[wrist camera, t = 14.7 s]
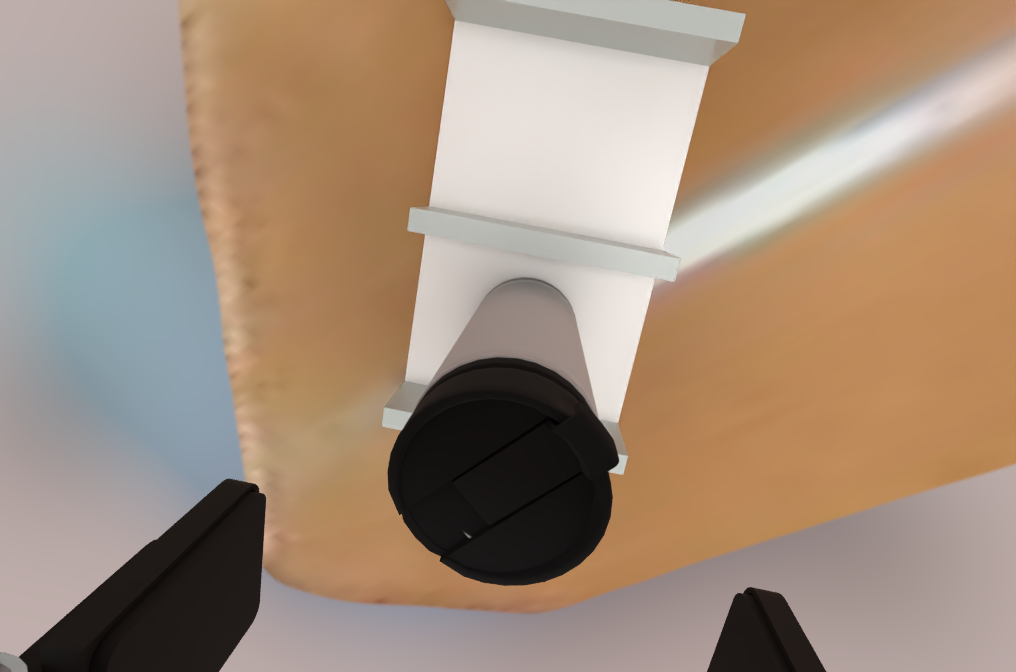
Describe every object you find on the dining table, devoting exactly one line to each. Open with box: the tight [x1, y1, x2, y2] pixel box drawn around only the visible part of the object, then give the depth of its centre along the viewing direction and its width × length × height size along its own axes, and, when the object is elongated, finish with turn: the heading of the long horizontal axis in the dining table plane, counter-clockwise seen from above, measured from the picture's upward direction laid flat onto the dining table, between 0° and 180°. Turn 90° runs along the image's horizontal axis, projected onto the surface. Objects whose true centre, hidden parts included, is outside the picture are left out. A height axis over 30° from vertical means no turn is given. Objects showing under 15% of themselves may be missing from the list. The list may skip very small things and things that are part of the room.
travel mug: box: [388, 277, 619, 586], centre depth 23 cm, size 6×7×20 cm
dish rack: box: [382, 0, 746, 475], centre depth 30 cm, size 24×14×6 cm, turn 170°
